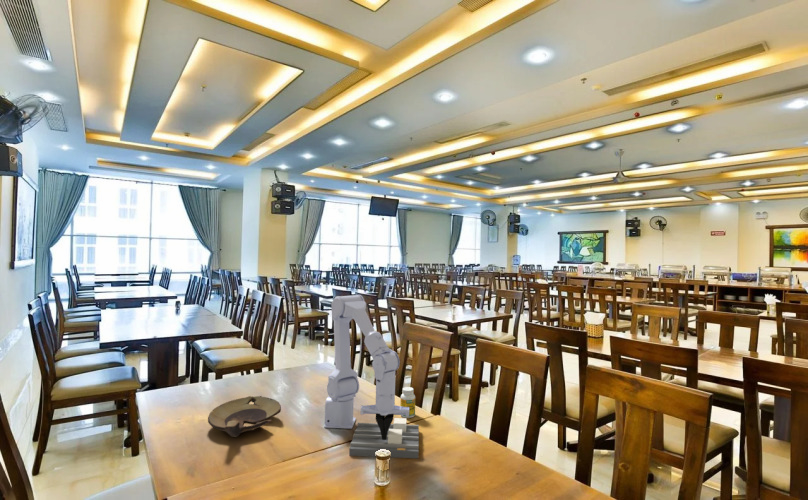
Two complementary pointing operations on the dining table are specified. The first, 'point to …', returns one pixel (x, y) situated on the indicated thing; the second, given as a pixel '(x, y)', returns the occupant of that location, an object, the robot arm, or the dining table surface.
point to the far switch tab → (400, 424)
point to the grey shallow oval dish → (243, 414)
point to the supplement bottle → (408, 401)
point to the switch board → (384, 441)
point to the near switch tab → (395, 436)
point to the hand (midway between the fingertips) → (384, 438)
